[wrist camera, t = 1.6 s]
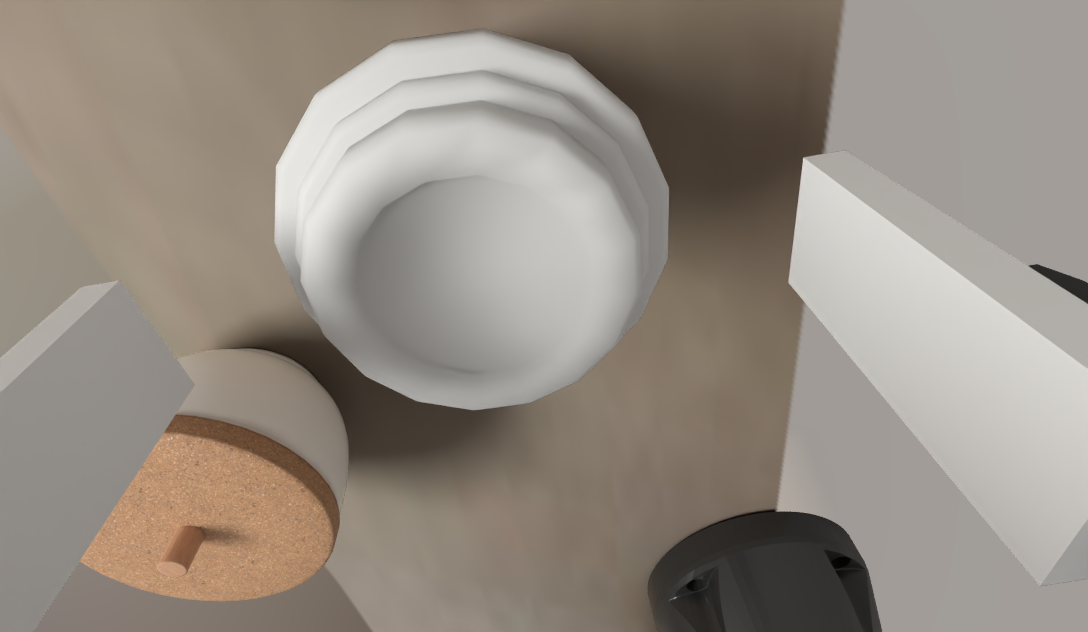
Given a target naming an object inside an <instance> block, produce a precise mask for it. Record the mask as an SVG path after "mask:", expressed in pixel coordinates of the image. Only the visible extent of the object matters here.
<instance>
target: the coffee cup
mask: <svg viewBox="0 0 1088 632" xmlns="http://www.w3.org/2000/svg"><path fill="white" fill-rule="evenodd" d="M668 218H669V187H668V185H667V182H666V180H665V178H664V176H663V173H662V171H661V169H660V166H659V164H658V162H657V160H656V157H655V155H654V153H653V151H652V148H651V146H650V144H649V142H648V139H647V137H646V135H645V132H644V130H643V128H642V126H641V123H640V121H639V119H638V117H637V116H636V114H635V113H634V112H633V111H632V110H631V109H630V108H629V107H628V106H627V105H626V104H625V103H623V102H622V101H621V100H620V99H619V98H618V97H617V96H616V95H614V94H613V93H612V92H611V91H610V90H609V89H608V88H607V87H605V86H604V85H603V84H602V83H601V82H600V81H599V80H597V79H596V78H595V77H594V76H593V75H592V74H591V73H590V72H588V71H587V70H586V69H585V68H584V67H583V66H582V65H580V64H579V63H578V62H577V61H576V60H575V59H574V58H573V57H571V56H570V55H569V54H566V53H562V52H559V51H556V50H553V49H549V48H546V47H543V46H540V45H536V44H533V43H530V42H527V41H523V40H520V39H517V38H514V37H510V36H507V35H504V34H501V33H497V32H494V31H491V30H488V29H484V28H481V29H474V30H467V31H459V32H452V33H445V34H437V35H430V36H423V37H415V38H408V39H401V40H394V41H392V42H391V43H389V44H388V45H386V46H385V47H383V48H382V49H380V50H379V51H377V52H376V53H374V54H373V55H371V56H370V57H368V58H367V59H366V60H364V61H363V62H361V63H360V64H358V65H357V66H355V67H354V68H352V69H351V70H349V71H348V72H346V73H345V74H343V75H342V76H340V77H339V78H337V79H336V80H334V81H333V82H331V83H330V84H328V85H327V86H325V87H324V88H322V89H321V90H320V91H319V92H318V93H317V94H315V96H314V97H313V99H312V101H311V103H310V105H309V107H308V109H307V110H306V112H305V114H304V116H303V118H302V120H301V121H300V123H299V125H298V127H297V129H296V131H295V132H294V134H293V136H292V138H291V140H290V142H289V143H288V145H287V147H286V149H285V151H284V153H283V154H282V156H281V158H280V160H279V162H278V164H277V165H276V195H275V245H276V247H277V250H278V252H279V254H280V256H281V259H282V261H283V263H284V266H285V268H286V270H287V272H288V275H289V277H290V279H291V282H292V284H293V286H294V288H295V291H296V293H297V295H298V298H299V300H300V302H301V304H302V307H303V309H304V310H305V311H306V312H307V313H308V314H309V315H310V316H311V317H312V318H313V319H314V320H315V321H316V322H317V323H318V324H319V325H320V328H321V330H322V332H323V335H324V336H325V337H326V338H327V339H328V340H329V341H330V342H331V343H332V344H333V345H334V346H335V347H336V348H337V349H338V350H339V351H340V352H341V353H342V354H343V355H344V356H345V357H346V358H347V359H348V360H349V361H350V362H351V363H352V364H353V365H354V366H355V367H356V368H357V369H358V370H359V371H360V372H361V373H362V374H363V375H364V376H366V377H368V378H370V379H372V380H374V381H376V382H378V383H380V384H382V385H384V386H386V387H388V388H391V389H393V390H395V391H397V392H399V393H401V394H403V395H405V396H407V397H409V398H411V399H413V400H415V401H417V402H424V403H430V404H436V405H443V406H449V407H456V408H462V409H468V410H481V409H488V408H496V407H503V406H511V405H518V404H526V403H531V402H533V401H535V400H538V399H540V398H542V397H544V396H546V395H548V394H551V393H553V392H555V391H557V390H559V389H561V388H564V387H566V386H568V385H570V384H572V383H574V382H577V381H579V380H580V379H581V378H582V377H584V376H585V375H586V374H587V373H588V372H589V371H590V370H591V369H592V368H593V367H594V366H595V365H596V364H597V363H598V362H599V361H600V360H601V359H602V358H603V357H604V356H605V355H606V354H607V353H608V352H610V351H611V350H612V349H613V348H614V347H615V346H616V345H617V344H618V343H619V341H620V339H621V337H622V336H623V335H624V334H625V333H626V332H627V331H628V330H629V329H630V328H631V327H632V326H633V325H634V324H635V323H637V322H638V321H639V320H640V318H641V316H642V314H643V311H644V309H645V307H646V305H647V303H648V301H649V298H650V296H651V294H652V292H653V290H654V287H655V285H656V283H657V281H658V279H659V277H660V274H661V272H662V270H663V268H664V266H665V263H666V261H667V259H668Z"/></svg>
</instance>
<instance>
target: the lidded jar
mask: <svg viewBox="0 0 1088 632" xmlns="http://www.w3.org/2000/svg"><path fill="white" fill-rule="evenodd" d="M176 359H177V360H178V362H179V363H180V364H181V366H182V367H183V369H184V370H185V371H186V373H187V374H188V376H189V377H190V378H191V380H192V381H193V382H194V384H195V386H194V387H193V389H192V390H191V392H190V393H189V395H188V397H187V398H186V400H185V401H184V403H183V404H182V406H181V407H180V409H179V410H178V412H177V413H176V415H175V416H174V418H173V419H172V421H171V422H170V424H169V425H168V427H167V429H166V430H165V432H164V433H163V435H162V436H161V438H160V439H159V441H158V442H157V444H156V445H155V447H154V448H153V450H152V451H151V453H150V454H149V456H148V457H147V459H146V461H145V462H144V464H143V465H142V467H141V468H140V470H139V471H138V473H137V474H136V476H135V477H134V479H133V480H132V482H131V483H130V485H129V486H128V488H127V489H126V491H125V493H124V494H123V496H122V497H121V499H120V500H119V502H118V503H117V505H116V506H115V508H114V509H113V511H112V512H111V514H110V515H109V517H108V518H107V520H106V521H105V523H104V525H103V526H102V528H101V529H100V531H99V532H98V534H97V535H96V537H95V538H94V540H93V541H92V543H91V544H90V546H89V547H88V549H87V550H86V552H85V553H84V555H83V557H82V558H81V560H80V561H81V562H82V563H84V564H85V565H87V566H89V567H90V568H92V569H94V570H96V571H97V572H99V573H101V574H103V575H105V576H108V577H110V578H112V579H115V580H117V581H119V582H122V583H124V584H127V585H130V586H133V587H136V588H138V589H142V590H146V591H149V592H153V593H157V594H161V595H167V596H172V597H177V598H184V599H193V600H206V601H207V600H208V601H233V600H245V599H253V598H260V597H264V596H268V595H272V594H276V593H279V592H282V591H285V590H288V589H291V588H293V587H294V586H297V585H299V584H300V583H302V582H304V581H305V580H307V579H308V578H310V577H311V576H313V575H314V574H315V573H317V572H318V571H319V570H320V569H321V567H322V566H323V565H324V564H325V563H326V562H327V560H328V559H329V557H330V555H331V553H332V552H333V548H334V545H335V541H336V537H337V533H338V529H339V524H340V512H341V508H342V504H343V500H344V496H345V491H346V487H347V480H348V471H349V442H348V438H347V433H346V429H345V425H344V421H343V418H342V416H341V414H340V411H339V409H338V407H337V405H336V404H335V402H334V400H333V399H332V397H331V396H330V395H329V393H328V392H327V391H326V390H325V389H324V388H323V386H322V385H321V384H320V383H319V382H318V381H317V380H316V378H315V377H314V376H313V375H312V374H311V373H310V372H309V371H308V370H307V369H306V368H304V367H303V366H302V365H301V364H299V363H297V362H296V361H294V360H292V359H290V358H288V357H286V356H284V355H281V354H278V353H275V352H272V351H268V350H263V349H255V348H239V349H215V350H208V351H201V352H197V353H192V354H189V355H185V356H182V357H178V358H176Z"/></svg>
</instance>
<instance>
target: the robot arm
mask: <svg viewBox="0 0 1088 632" xmlns="http://www.w3.org/2000/svg"><path fill="white" fill-rule="evenodd" d="M788 283H789V284H790V285H791V286H792V287H793V289H794V290H795V291H796V292H797V293H798V295H799V296H800V297H801V298H802V300H803V301H804V302H805V303H806V304H807V306H808V307H809V308H810V309H811V310H812V312H813V313H814V314H815V315H816V316H817V318H818V319H819V320H820V321H821V322H822V324H823V325H824V326H825V327H826V329H827V330H828V331H829V332H830V333H831V334H832V336H833V337H834V338H835V339H836V341H837V342H838V343H839V344H840V345H841V347H842V348H843V349H844V350H845V351H846V353H847V354H848V355H849V356H850V357H851V359H852V360H853V361H854V362H855V364H856V365H857V366H858V367H859V368H860V369H861V371H862V372H863V373H864V374H865V375H866V377H867V378H868V379H869V380H870V382H871V383H872V384H873V385H874V386H875V388H876V389H877V390H878V391H879V392H880V394H881V395H882V396H883V397H884V399H885V400H886V401H887V402H888V403H889V405H890V406H891V407H892V408H893V409H894V411H895V412H896V413H897V414H898V416H899V417H900V418H901V419H902V420H903V422H904V423H905V424H906V425H907V426H908V428H909V429H910V430H911V431H912V432H913V434H914V435H915V436H916V437H917V438H918V440H919V441H920V442H921V443H922V445H923V446H924V447H925V448H926V449H927V451H928V452H929V453H930V454H931V455H932V456H933V458H934V459H935V460H936V461H937V463H938V464H939V465H940V466H941V467H942V469H943V470H944V471H945V472H946V474H947V475H948V476H949V477H950V478H951V479H952V481H953V482H954V483H955V484H956V485H957V487H958V488H959V489H960V490H961V491H962V493H963V494H964V495H965V496H966V498H967V499H968V500H969V501H970V503H971V504H972V505H973V506H974V507H975V508H976V510H977V511H978V512H979V513H980V514H981V516H982V517H983V518H984V519H985V521H986V522H987V523H988V524H989V525H990V527H991V528H992V529H993V530H994V531H995V533H996V534H997V535H998V536H999V537H1000V539H1001V540H1002V541H1003V542H1004V544H1005V545H1006V546H1007V547H1008V548H1009V550H1010V551H1011V552H1012V553H1013V554H1014V556H1015V557H1016V558H1017V559H1018V561H1019V562H1020V563H1021V564H1022V565H1023V567H1024V568H1025V569H1026V570H1027V571H1028V573H1029V574H1030V575H1031V576H1032V577H1033V579H1034V580H1035V581H1036V582H1037V583H1038V585H1039V586H1045V585H1052V584H1059V583H1065V582H1072V581H1078V580H1085V579H1088V283H1087V282H1085V281H1082V280H1080V279H1077V278H1074V277H1071V276H1069V275H1066V274H1063V273H1060V272H1057V271H1055V270H1052V269H1049V268H1046V267H1043V266H1040V265H1037V264H1036V265H1030V266H1027V265H1026V264H1024V263H1022V262H1021V261H1019V260H1017V259H1016V258H1014V257H1013V256H1011V255H1010V254H1008V253H1007V252H1005V251H1003V250H1002V249H1000V248H999V247H997V246H996V245H994V244H992V243H991V242H989V241H988V240H986V239H984V238H983V237H981V236H980V235H978V234H977V233H975V232H973V231H972V230H970V229H969V228H967V227H966V226H964V225H962V224H961V223H959V222H958V221H956V220H955V219H953V218H951V217H950V216H948V215H946V214H945V213H944V212H942V211H940V210H939V209H937V208H936V207H934V206H932V205H931V204H929V203H928V202H926V201H925V200H923V199H921V198H920V197H918V196H917V195H915V194H914V193H912V192H910V191H909V190H907V189H906V188H904V187H903V186H901V185H899V184H898V183H896V182H895V181H893V180H891V179H890V178H888V177H887V176H885V175H884V174H882V173H880V172H879V171H877V170H876V169H874V168H873V167H871V166H869V165H868V164H866V163H865V162H863V161H862V160H860V159H858V158H857V157H855V156H854V155H852V154H851V153H849V152H847V151H846V150H843V151H837V152H832V153H826V154H821V155H815V156H809V157H804V158H803V166H802V174H801V182H800V191H799V199H798V207H797V215H796V224H795V232H794V240H793V249H792V257H791V265H790V274H789V282H788ZM194 386H195V384H194V382H193V381H192V380H191V378H190V377H189V376H188V374H187V373H186V371H185V370H184V369H183V367H182V366H181V364H180V363H179V362H178V360H177V359H176V358H175V356H174V355H173V353H172V352H171V351H170V349H169V348H168V346H167V345H166V344H165V342H164V341H163V340H162V338H161V337H160V335H159V334H158V333H157V331H156V330H155V328H154V327H153V326H152V324H151V323H150V322H149V320H148V319H147V317H146V316H145V315H144V313H143V312H142V310H141V309H140V308H139V306H138V305H137V304H136V302H135V301H134V299H133V298H132V297H131V295H130V294H129V292H128V291H127V290H126V288H125V287H124V286H123V284H122V283H121V281H120V280H119V281H113V282H108V283H102V284H97V285H92V286H86V287H81V288H80V289H79V290H78V291H77V292H76V293H74V294H73V295H72V296H71V297H70V298H69V299H67V300H66V301H65V302H64V303H63V304H62V305H61V306H59V308H57V309H56V310H55V311H54V312H53V313H51V314H50V315H49V316H48V317H47V318H46V319H44V320H43V321H42V322H41V323H40V324H39V325H38V326H36V327H35V328H34V329H33V330H32V331H31V332H29V333H28V334H27V335H26V336H25V337H24V338H23V339H21V340H20V341H19V342H18V343H17V344H16V345H15V346H13V347H12V348H11V349H10V350H9V351H8V352H7V353H5V354H4V355H3V356H2V357H1V358H0V632H33V631H34V630H35V628H36V627H37V625H38V624H39V622H40V620H41V619H42V617H43V616H44V614H45V613H46V611H47V610H48V608H49V607H50V605H51V604H52V602H53V601H54V599H55V598H56V596H57V595H58V593H59V592H60V590H61V588H62V587H63V585H64V584H65V582H66V581H67V579H68V578H69V576H70V575H71V573H72V572H73V570H74V569H75V567H76V566H77V564H78V562H79V561H80V560H81V558H82V557H83V555H84V553H85V552H86V550H87V549H88V547H89V546H90V544H91V543H92V541H93V540H94V538H95V537H96V535H97V534H98V532H99V531H100V529H101V528H102V526H103V525H104V523H105V521H106V520H107V518H108V517H109V515H110V514H111V512H112V511H113V509H114V508H115V506H116V505H117V503H118V502H119V500H120V499H121V497H122V496H123V494H124V493H125V491H126V489H127V488H128V486H129V485H130V483H131V482H132V480H133V479H134V477H135V476H136V474H137V473H138V471H139V470H140V468H141V467H142V465H143V464H144V462H145V461H146V459H147V457H148V456H149V454H150V453H151V451H152V450H153V448H154V447H155V445H156V444H157V442H158V441H159V439H160V438H161V436H162V435H163V433H164V432H165V430H166V429H167V427H168V425H169V424H170V422H171V421H172V419H173V418H174V416H175V415H176V413H177V412H178V410H179V409H180V407H181V406H182V404H183V403H184V401H185V400H186V398H187V397H188V395H189V393H190V392H191V390H192V389H193V387H194ZM648 596H649V600H650V604H651V608H652V613H653V617H654V621H655V624H656V627H657V629H658V631H659V632H882V629H881V624H880V620H879V616H878V611H877V607H876V602H875V598H874V594H873V589H872V585H871V580H870V576H869V572H868V569H867V567H866V564H865V562H864V560H863V558H862V557H861V555H860V554H859V552H858V550H857V549H856V547H855V545H854V543H853V541H852V540H851V538H850V536H849V535H848V534H847V532H846V531H845V530H844V529H843V528H842V527H840V526H839V525H838V524H836V523H834V522H832V521H831V520H828V519H826V518H823V517H820V516H816V515H812V514H808V513H800V512H767V513H759V514H752V515H747V516H743V517H738V518H734V519H731V520H728V521H724V522H721V523H719V524H716V525H713V526H711V527H708V528H706V529H704V530H702V531H700V532H698V533H696V534H694V535H692V536H690V537H689V538H687V539H685V540H684V541H682V542H681V543H679V544H678V545H676V546H675V547H674V548H673V549H671V550H670V551H669V552H668V553H667V554H666V555H665V556H664V557H663V558H662V559H661V560H660V561H659V562H658V564H657V565H656V567H655V568H654V570H653V572H652V574H651V576H650V579H649V582H648Z"/></svg>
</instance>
